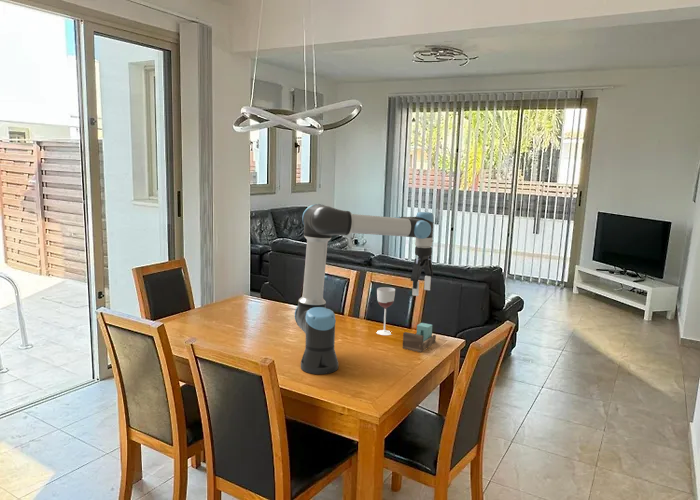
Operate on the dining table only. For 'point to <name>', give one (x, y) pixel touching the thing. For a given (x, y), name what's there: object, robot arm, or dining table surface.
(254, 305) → the dining table surface
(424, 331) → the block
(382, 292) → the wineglass
